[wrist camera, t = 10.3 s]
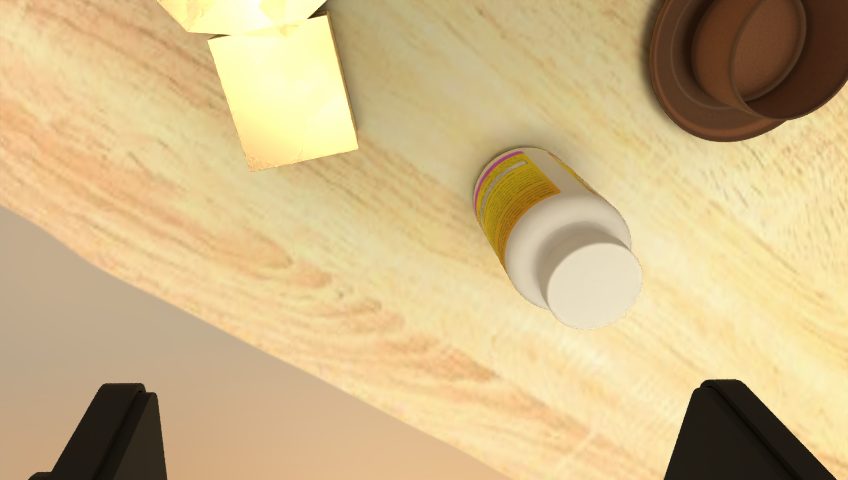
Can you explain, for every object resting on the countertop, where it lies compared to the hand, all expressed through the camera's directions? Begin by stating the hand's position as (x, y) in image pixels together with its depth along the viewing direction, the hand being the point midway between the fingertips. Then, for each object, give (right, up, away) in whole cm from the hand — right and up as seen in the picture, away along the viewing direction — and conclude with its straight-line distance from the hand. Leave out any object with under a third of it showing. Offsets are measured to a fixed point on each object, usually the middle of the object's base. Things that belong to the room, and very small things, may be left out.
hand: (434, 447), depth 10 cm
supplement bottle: (+6, +7, +29) cm, 31 cm away
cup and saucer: (+19, +16, +27) cm, 37 cm away
